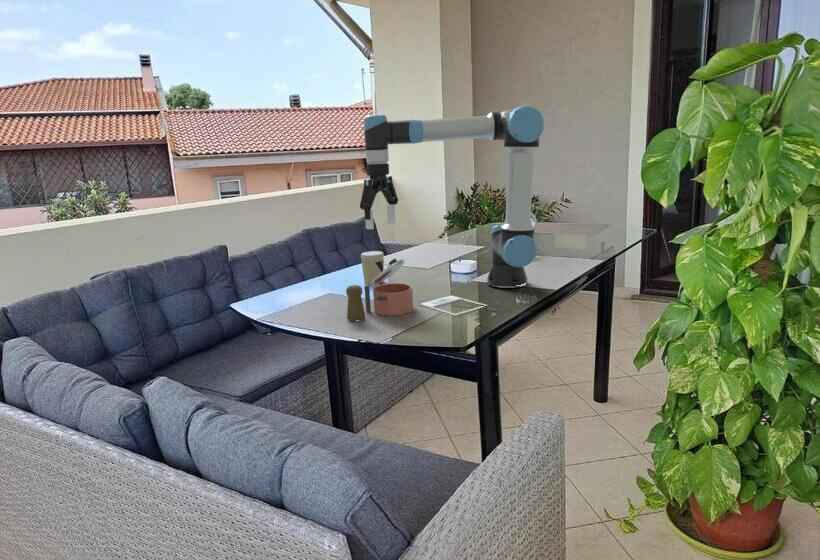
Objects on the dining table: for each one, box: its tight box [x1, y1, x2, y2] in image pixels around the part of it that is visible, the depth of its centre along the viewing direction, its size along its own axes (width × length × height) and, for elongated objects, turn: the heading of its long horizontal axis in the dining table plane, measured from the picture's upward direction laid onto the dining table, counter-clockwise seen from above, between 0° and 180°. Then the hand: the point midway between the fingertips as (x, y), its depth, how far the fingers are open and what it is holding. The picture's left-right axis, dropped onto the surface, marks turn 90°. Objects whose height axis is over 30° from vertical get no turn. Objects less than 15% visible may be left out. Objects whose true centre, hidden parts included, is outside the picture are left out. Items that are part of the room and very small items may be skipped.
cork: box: [345, 284, 366, 322], centre depth 185 cm, size 6×6×11 cm
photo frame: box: [419, 295, 488, 317], centre depth 195 cm, size 15×1×18 cm
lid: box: [369, 258, 405, 288], centre depth 191 cm, size 14×14×2 cm
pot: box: [364, 281, 414, 317], centre depth 193 cm, size 14×16×9 cm
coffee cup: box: [360, 250, 385, 285], centre depth 231 cm, size 9×9×12 cm
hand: (380, 226), depth 197 cm, fingers open, 13 cm apart
